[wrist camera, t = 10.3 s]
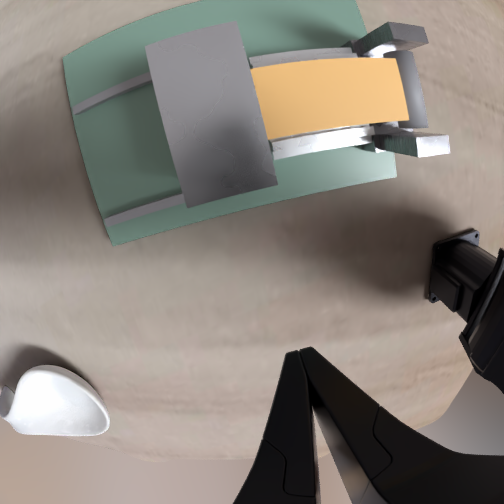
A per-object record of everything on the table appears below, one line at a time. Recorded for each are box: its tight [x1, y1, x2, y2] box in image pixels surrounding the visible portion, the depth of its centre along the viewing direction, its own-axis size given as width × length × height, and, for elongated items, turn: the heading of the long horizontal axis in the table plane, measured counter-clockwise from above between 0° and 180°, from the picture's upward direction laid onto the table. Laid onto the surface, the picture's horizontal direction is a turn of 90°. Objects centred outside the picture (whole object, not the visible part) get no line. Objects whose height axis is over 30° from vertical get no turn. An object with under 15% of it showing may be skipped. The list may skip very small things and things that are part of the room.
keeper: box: [145, 21, 278, 208], centre depth 13 cm, size 4×7×7 cm, turn 13°
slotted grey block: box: [248, 48, 375, 160], centre depth 14 cm, size 6×6×3 cm
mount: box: [339, 22, 450, 157], centre depth 13 cm, size 3×7×6 cm, turn 13°
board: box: [63, 0, 397, 246], centre depth 15 cm, size 21×15×2 cm
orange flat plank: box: [250, 50, 428, 140], centre depth 12 cm, size 12×4×2 cm, turn 103°
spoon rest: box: [0, 365, 110, 436], centre depth 23 cm, size 24×12×7 cm, turn 113°
